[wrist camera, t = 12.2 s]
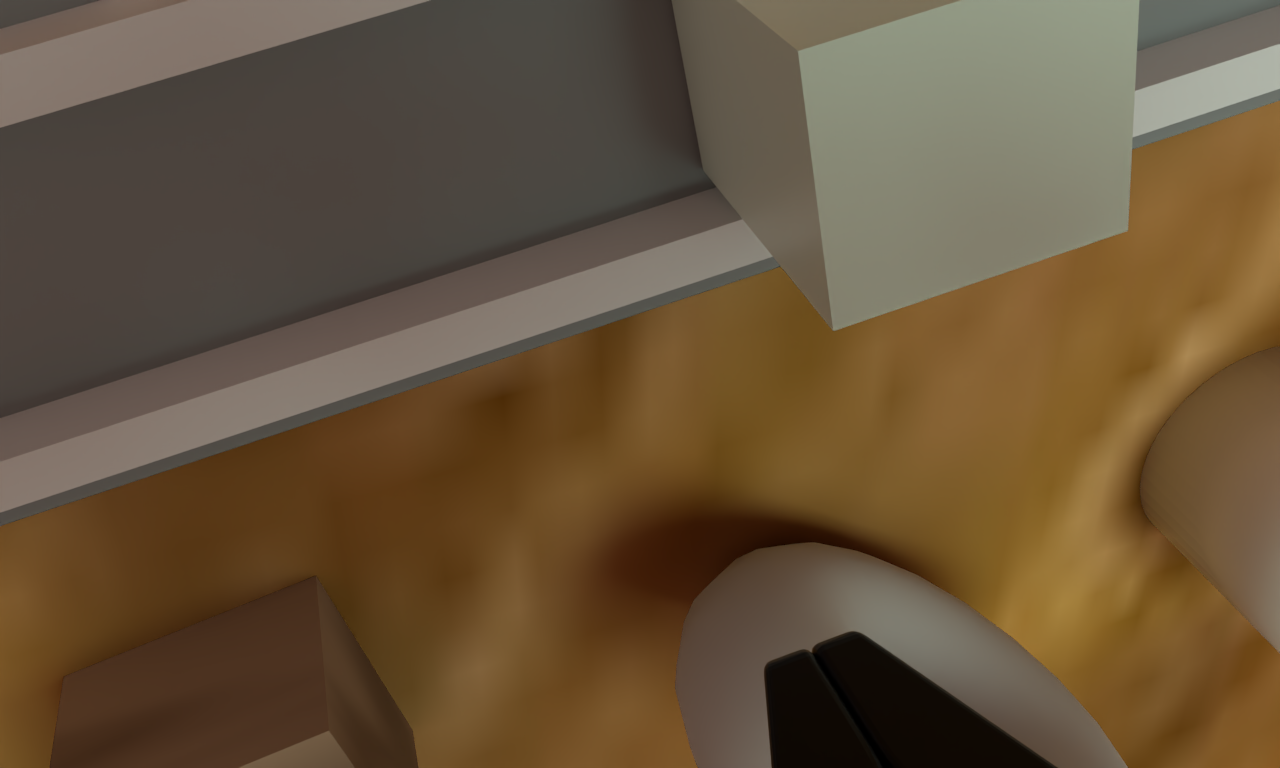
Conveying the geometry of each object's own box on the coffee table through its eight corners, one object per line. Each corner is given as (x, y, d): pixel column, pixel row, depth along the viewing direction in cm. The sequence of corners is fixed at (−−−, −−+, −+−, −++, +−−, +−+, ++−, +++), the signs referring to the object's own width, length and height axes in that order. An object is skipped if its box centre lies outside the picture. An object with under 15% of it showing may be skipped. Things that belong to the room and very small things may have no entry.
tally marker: (939, 95, 19) (1127, 230, 15) (703, 170, 19) (833, 330, 15) (926, -142, 17) (1142, -57, 13) (659, -63, 16) (797, 51, 12)
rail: (1484, -13, 23) (1615, 28, 21) (-95, 504, 20) (-135, 618, 17) (1600, -529, 18) (1785, -544, 16) (-455, 40, 15) (-570, 117, 13)
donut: (1010, 567, 28) (1316, 952, 20) (926, 670, 30) (1183, 1070, 22) (669, 452, 24) (894, 897, 16) (584, 580, 25) (753, 1053, 17)
